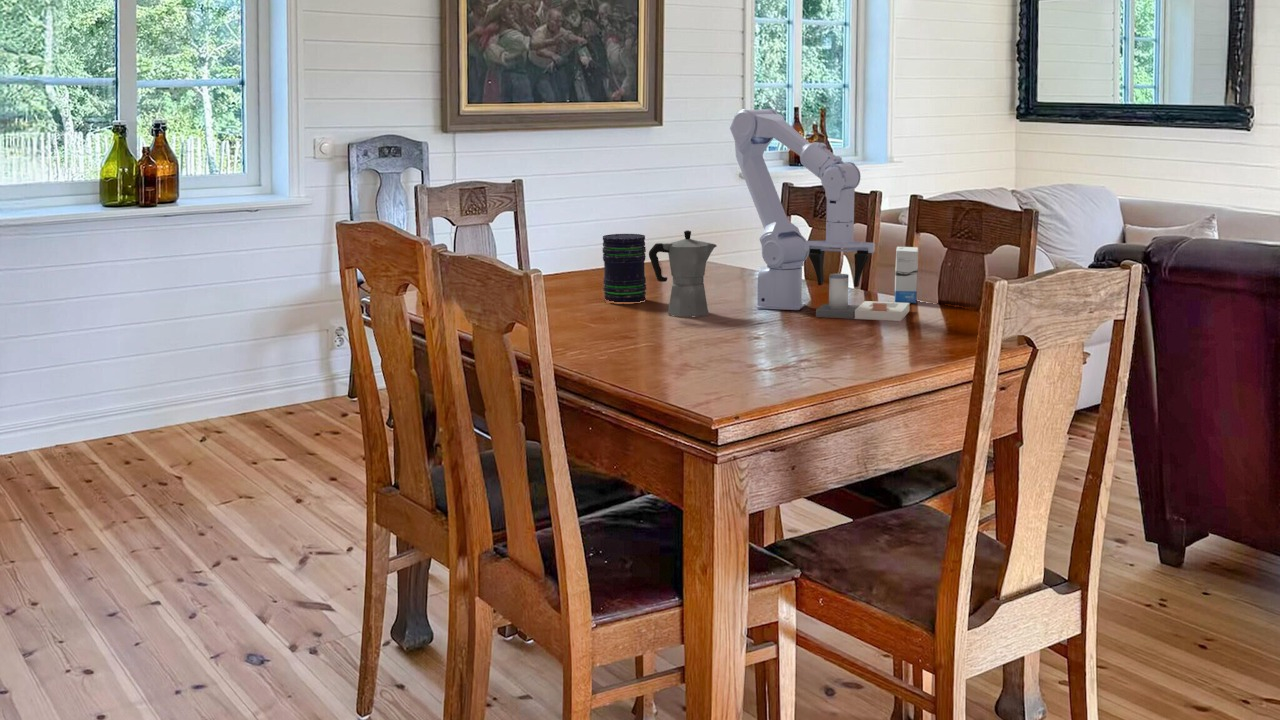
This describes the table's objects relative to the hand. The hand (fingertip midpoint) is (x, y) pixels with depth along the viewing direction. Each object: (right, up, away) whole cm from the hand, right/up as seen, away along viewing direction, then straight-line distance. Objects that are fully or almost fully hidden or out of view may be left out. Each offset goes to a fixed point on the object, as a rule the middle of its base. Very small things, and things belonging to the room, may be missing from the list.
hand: (838, 285), depth 270 cm
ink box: (+18, -3, +18) cm, 25 cm away
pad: (0, -6, +1) cm, 6 cm away
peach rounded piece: (+8, -8, -3) cm, 12 cm away
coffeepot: (-33, -6, +5) cm, 34 cm away
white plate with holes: (+9, -6, 0) cm, 11 cm away
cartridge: (0, -5, +1) cm, 5 cm away
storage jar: (-46, -2, +23) cm, 51 cm away
